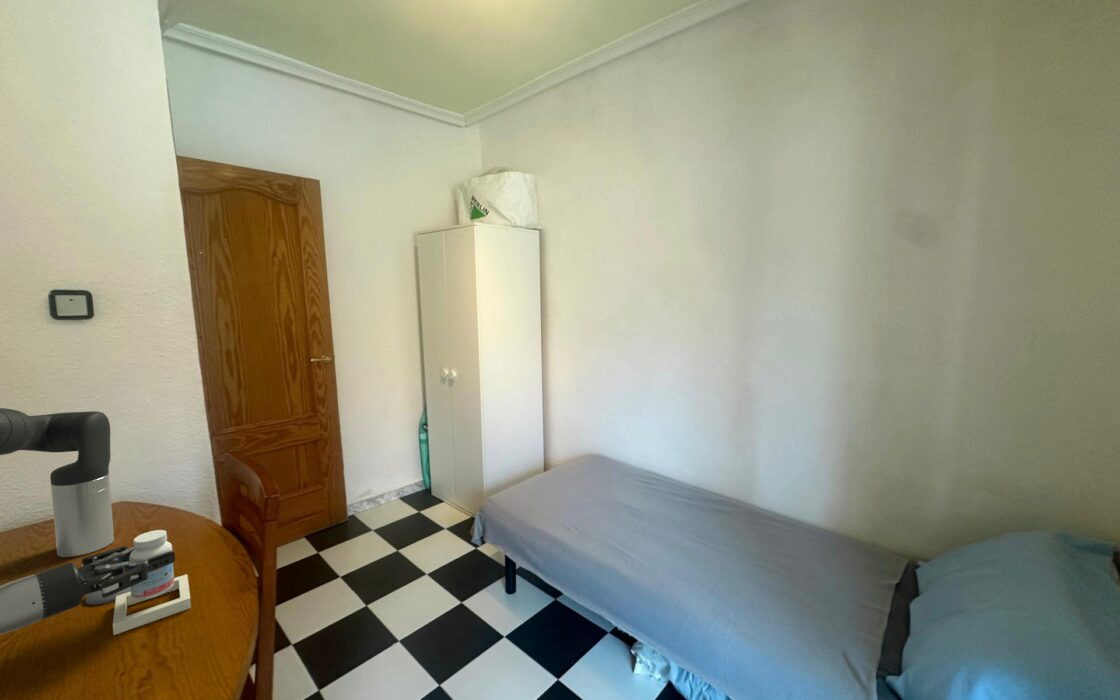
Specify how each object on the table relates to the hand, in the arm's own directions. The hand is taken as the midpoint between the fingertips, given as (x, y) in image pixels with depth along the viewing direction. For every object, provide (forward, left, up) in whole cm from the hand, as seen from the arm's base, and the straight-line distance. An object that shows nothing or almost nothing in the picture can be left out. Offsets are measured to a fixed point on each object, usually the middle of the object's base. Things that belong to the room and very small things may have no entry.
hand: (167, 550), depth 84 cm
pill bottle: (+1, -2, -7) cm, 8 cm away
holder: (+1, -2, -10) cm, 10 cm away
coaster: (-11, -8, -10) cm, 17 cm away
